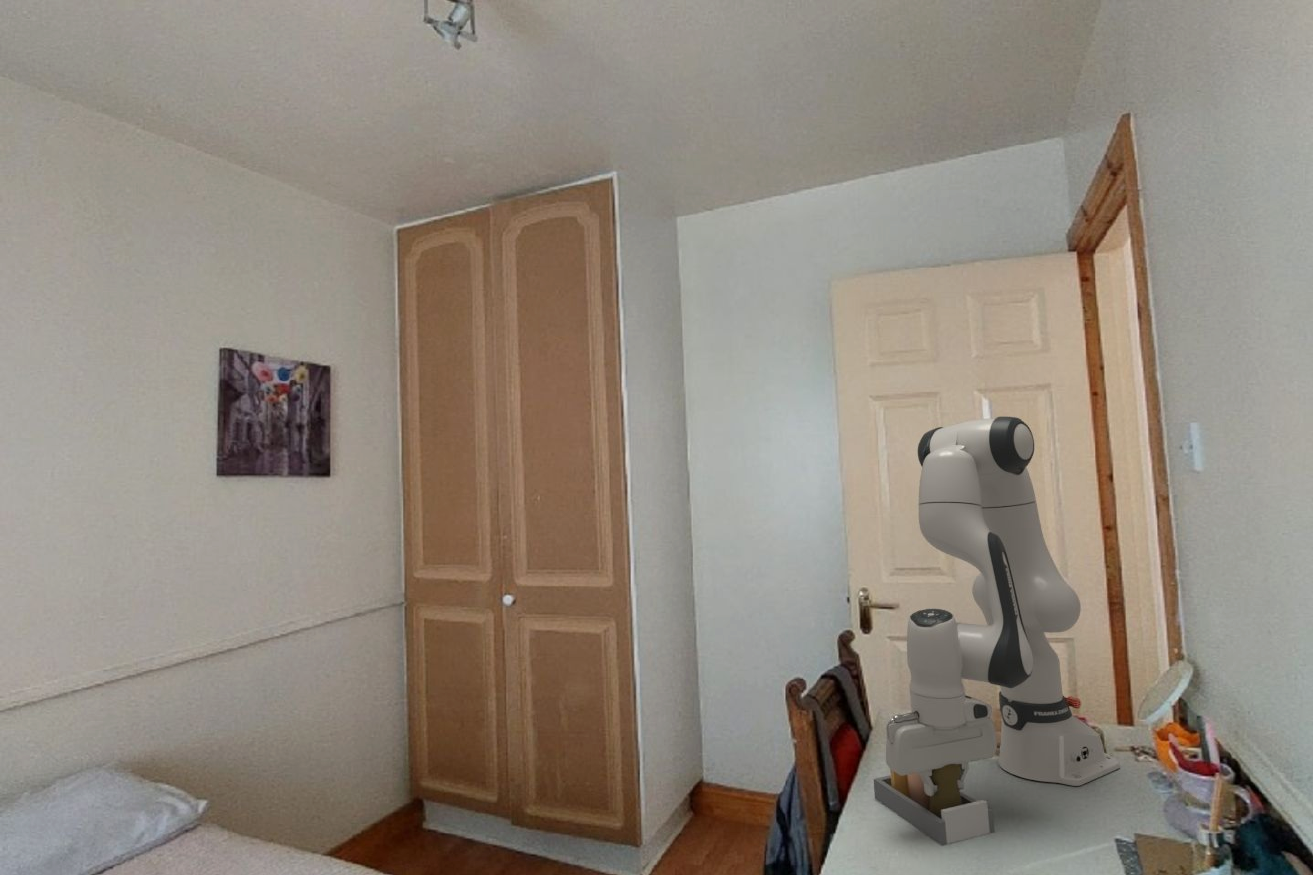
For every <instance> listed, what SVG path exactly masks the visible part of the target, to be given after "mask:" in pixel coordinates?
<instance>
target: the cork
mask: <svg viewBox="0 0 1313 875" xmlns="http://www.w3.org/2000/svg"><path fill="white" fill-rule="evenodd" d="M930 778H931V781H932V782H933V783H935V784H937V785H938V794H937V795H934V796H930V812H931V813H933V814H934V815H936V816H937V817H939V818H940V819H942V816H941V810H943V809H947V808H951V807H955V806H959V805H962V801H961V796H960V792H961V791H960V790H959V787H958V783H957V781H958V779H959V778H960V769H959V766H958V765H957V764H949V765H945V766H944V767H942V768H938V769H933V770H932V776H930ZM959 791H960V792H959Z"/></svg>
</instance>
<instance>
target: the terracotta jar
mask: <svg viewBox="0 0 1313 875" xmlns="http://www.w3.org/2000/svg"><path fill="white" fill-rule="evenodd" d="M929 777H930V776H929ZM930 779H931V778H930ZM907 780H908V794H909V798H910V799H911V800H913V801H914V802H916V803H917V804H919V805H920V806H922V807H923V808H925V809H927V810H928V811H930V796H929V795H927V794H926V793H925V791H924V782H923V781H922V780H921V778H920V777H919V775H918V773H914V774H909V775H907Z"/></svg>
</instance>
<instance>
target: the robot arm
mask: <svg viewBox="0 0 1313 875" xmlns="http://www.w3.org/2000/svg"><path fill="white" fill-rule="evenodd" d="M1034 453H1035V439H1034V435H1033V432H1032V430H1031V428H1030V427H1029V426H1028V424H1027V423H1026V422H1025V421H1023V420H1022V419H1021V418H1019V417H1015V416H998V417H995V418H993V417H992V418H980V419H979V418H978V419H972V420H966V421H964V422H960V423H956V424H951V425H947V426H944V427H943V426H940V427H936V428H932V429H930V430H928V431H927V432H925V433H924V434H923V435H922V437H921V438H920V440H919V442H918V444H917V457H918V461H919V464H920V466H921V470H920V472H921V473H920V478H919V487H918V524H919V530H920V532H921V534H922V536H923V538H925V541H927V543H929V544H930V545H931V546H932V547H934V548H936V549H937V550H938V551H940V552H942V553H944V554H947V555H949V556H951V557H954V558H957V559H958V560H962V561H964V562H966V563H968V564H970V565H972V566H973V567H975V568H976V569H977V570H978V571H979V572H980V573H978V575H977V576H976V577H975V579H974V580H973V583H972V591H971V592H972V596H973V600H974V601H975V603H976V604H977V606H978V607H979V609H980V610H981V612H982V614H983V616H984V619H985V622H986V625H984V624H974V623H963V622H958V621H956V618H955V616H954V614H953V613H952V612H950V611H949V610H945V609H940V608H926V609H920V610H918V611H915V612H913V613H912V614H911V615H909V618H908V622H907V630H906V631H907V632H906V660H907V666H908V669H909V672H910V682H909V699H910V709H911V710H910V712H908V713H904V714H895V715H893V716H892V718H891V719H890V720H889V721H888V722H887V723H886V725H885V726H886V727H885V728H886V741H885V742H886V744H885V763H886V765H887V767H888V768H889V770H890V769H891V770H892V771H894V772H896V773H897V774H899V775H902V776H904V775H909V774H914V773H918V775H919V777H920V778H921V780H922V781H923V782H924V791H925V793H926V794H927V795H929V796H934V795H937V794H938V785H937V784H935V783H933V782H932V781H931V779H930V777H929V776H932V770H933V769H938V768H942V767H944V766H945V765H949V764H957V765H958V766H959V769H960V778H959V779H958V781H957V783H958V787H959V791H961V790H964V789H965V781H964V780H965V778H966V776H967V774H968V772H969V768H970V767H969V763H971V762H972V763H973V762H977V761H981V760H987V759H992V758H994V757H995V756H996V753H997V751H998V744H997V733H996V726H995V724H994V721H993V719H992V718H991V717H992V716H993V707H992V705H991V704H989V703H987V702H986V701H982V700H981V699H978V698H976V697H972V696H969V695H966V690H965V687H964V684H963V681H962V680H963V679H964V680H969V681H976V682H983V683H989V684H991V685H995V686H999V687H1000V691H999V693H998V702H999V704H998V705H999V711H1000V714H1001V725H1000V726H1001V730H1000V731H1001V732H1000V746H999V747H1000V753H999V755H998V759H997V763H998V765H999V767H1001V769H1003V770H1004V771H1006V772H1008V773H1009V774H1011V775H1015V776H1017V777H1020V778H1023V779H1025V780H1026V779H1027V780H1031V781H1032V780H1033V781H1038V782H1045V783H1046V782H1047V783H1058V784H1063V785H1068V786H1073V787H1080V786H1082V785H1085V784H1086V783H1088V782H1091V781H1093V780H1096V779H1098V778H1100V777H1103V776H1104V775H1107V774H1109V773H1112V772H1114V771H1116V770H1118V769H1120V768H1121V765H1120V762H1119V761H1118V760H1117V759H1116V758H1114V757H1113V756H1112V755H1109V754H1108V753H1106V752H1105V750H1104V745H1103V741H1102V739H1101V736H1100V734H1099V733H1098V732H1097V731H1096V730H1095V729H1093V727H1090V726H1089V725H1087V724H1086V723H1085V722H1083V721H1081V719H1079V718H1078V717H1076V716H1075V715H1074V714H1073V712H1072V710H1071V708H1070V707H1072V708H1074V709H1076V710H1079V709H1080V708H1081V706H1082V701H1081V699H1080V698H1077V697H1074V696H1071V695H1069V696H1067V697H1065V696H1064V695H1063V686H1062V684H1063V683H1062V674H1061V664H1060V659H1059V656H1058V654H1057V652H1056V651H1055V650H1054V648H1053V647H1052V645H1051V644H1050V642H1049V640H1048V638H1047V636H1046V634H1045V633H1063V632H1066V631H1069V630H1071V629H1072V628H1073V627H1074V626H1075V625H1076V623H1077V622H1078V620H1079V618H1080V615H1081V611H1082V609H1081V601H1080V598H1079V595H1078V593H1077V592H1076V591H1075V590H1074V589H1073V588H1072V587H1071V586H1070V585H1069V584H1068V583H1067V582H1066V581H1065V579H1064V578H1063V576H1062V575H1061V573H1060V571H1059V570H1058V568H1057V566H1056V563H1055V562H1054V560H1053V557H1052V556H1051V553H1050V551H1049V549H1048V546H1047V544H1046V541H1045V539H1044V534H1043V529H1042V525H1041V519H1040V515H1039V511H1038V504H1037V498H1036V494H1035V493H1036V492H1035V489H1034V486H1033V482H1032V479H1031V475H1030V473H1029V470H1028V466H1029V464H1030V463H1031V461H1032V459H1033V457H1034Z"/></svg>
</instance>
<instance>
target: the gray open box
mask: <svg viewBox="0 0 1313 875" xmlns="http://www.w3.org/2000/svg"><path fill="white" fill-rule="evenodd" d="M873 789H874V790H873V791H874V799H875V800H876V801H878V802H879V803H881V805H883V806H885V807H886V808H887V809H889V810H890V811H892V812H893V813H895V814H896V815H898V816H899V817H901V818H902V819H904V820H905V821H906V822H908V823H909V824H910V825H912V826H913V827H915V828H916V829H918V830H919V831H920V832H922V833H923V834H925V835H926V836H927V837H929V838H930V839H931V840H933V841H935V842H936V843H937V844H939V845H940V846H946V845H950V844H954V843H958V842H962V841H965V840H969V839H973V838H977V837H982V836H985V835H989V834H993V833H995V821H994V820H995V819H994V810H993V809H991V808H990V807H988V801H986V800H985V799H982V800H981V799H980V800H976V799H974V798H973V797H971V796H969V795H967V794H966V793H964V792H962V791H961V790H959V792H960V796H961V801H962V805H959V806H955V807H951V808H947V809H943V810H941V816H942V819H940V818H939V817H937V816H936V815H934V814H933V813H931V812H930V811H928V810H927V809H925V808H923V807H922V806H920V805H919V804H917V803H916V802H914V801H913V800H911V799H910V798H908V797H907V796H905V795H904V794H902V793H900V792H899V791H897V790H896V789H894V788H893V787H892V786H891V774H890V775H884V776H880V777H876V778H873Z"/></svg>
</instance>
